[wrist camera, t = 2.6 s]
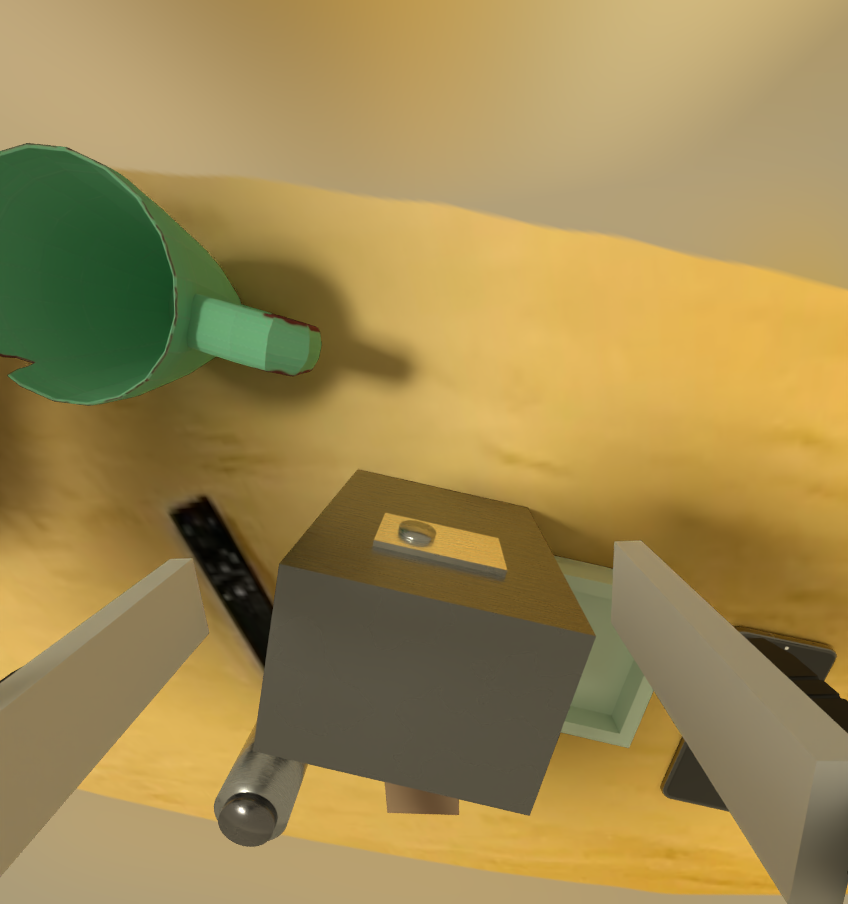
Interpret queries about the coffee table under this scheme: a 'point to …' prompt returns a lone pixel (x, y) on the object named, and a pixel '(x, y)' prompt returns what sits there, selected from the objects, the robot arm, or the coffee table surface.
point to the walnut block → (418, 801)
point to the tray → (603, 665)
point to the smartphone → (684, 770)
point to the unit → (423, 644)
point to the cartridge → (258, 796)
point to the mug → (117, 288)
